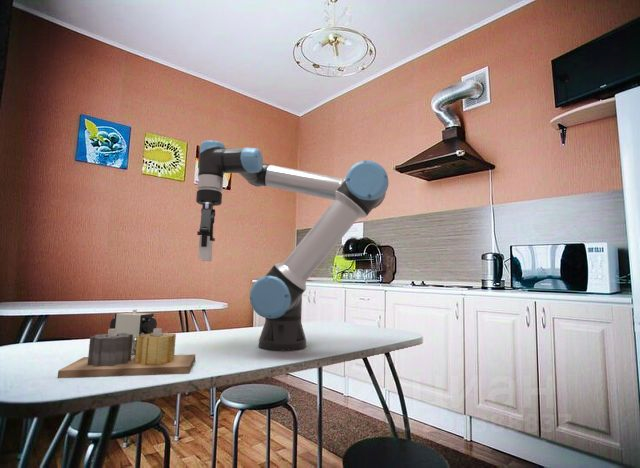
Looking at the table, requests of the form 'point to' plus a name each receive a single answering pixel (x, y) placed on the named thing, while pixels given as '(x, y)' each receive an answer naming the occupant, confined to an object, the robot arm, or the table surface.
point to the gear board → (127, 368)
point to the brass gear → (154, 349)
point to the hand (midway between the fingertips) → (205, 260)
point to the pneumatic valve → (134, 324)
